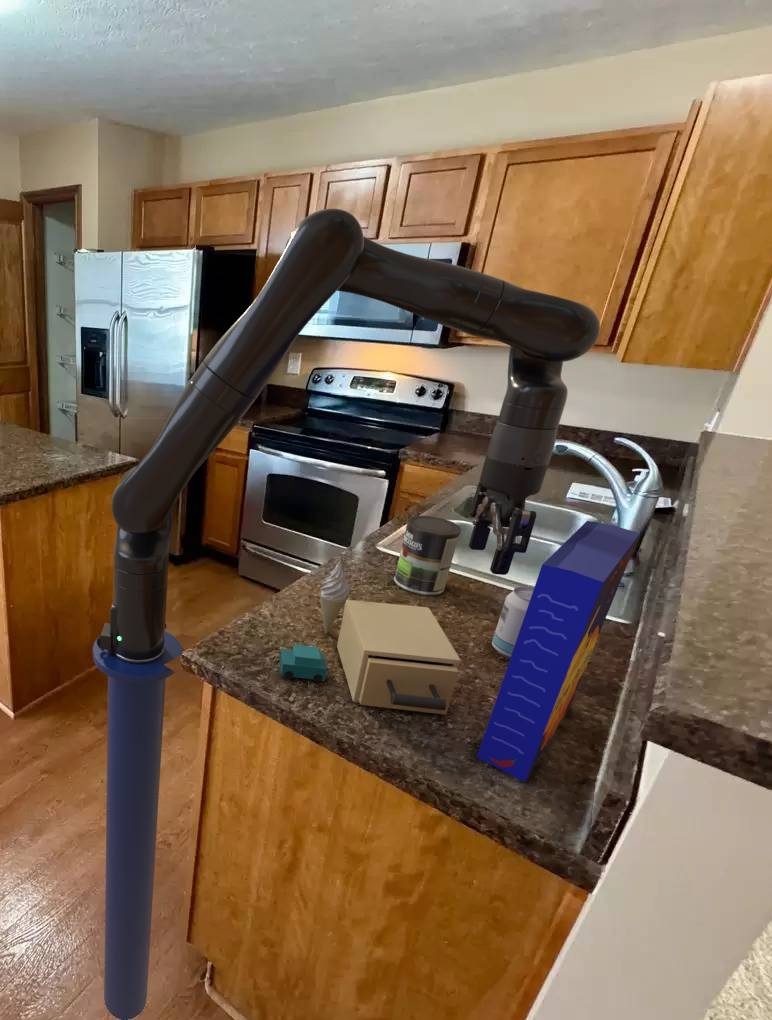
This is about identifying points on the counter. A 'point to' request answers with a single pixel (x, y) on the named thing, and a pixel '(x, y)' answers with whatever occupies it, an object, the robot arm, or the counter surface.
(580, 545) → the cereal box
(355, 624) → the cabinet
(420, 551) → the coffee can
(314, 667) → the toy car
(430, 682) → the drawer
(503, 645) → the beverage can
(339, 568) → the ice cream cone
